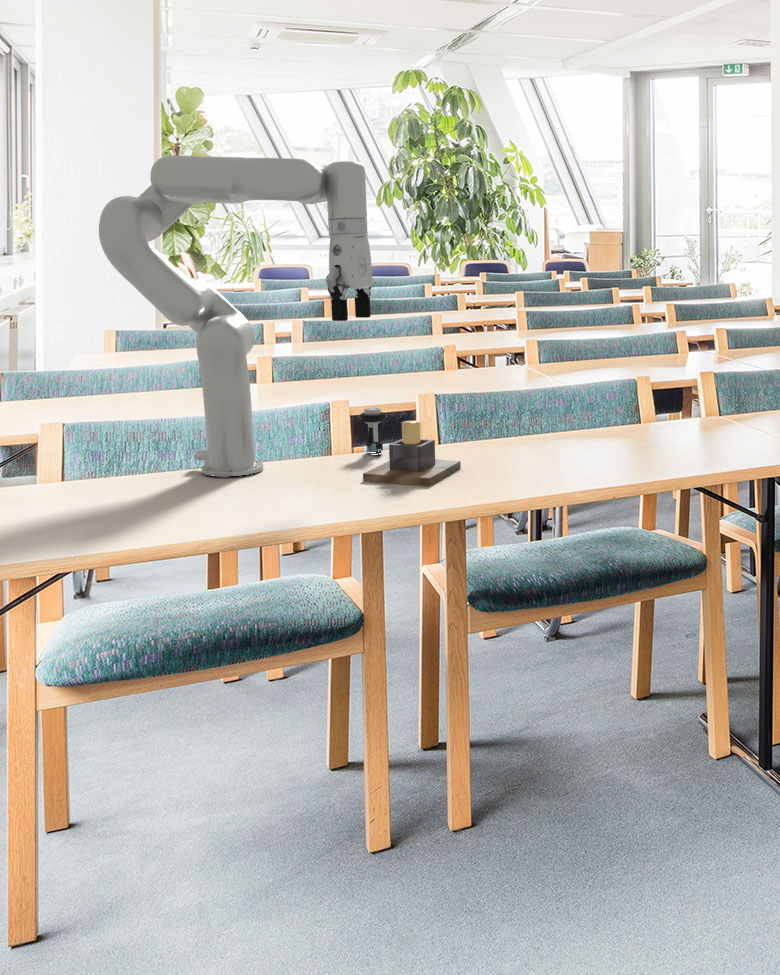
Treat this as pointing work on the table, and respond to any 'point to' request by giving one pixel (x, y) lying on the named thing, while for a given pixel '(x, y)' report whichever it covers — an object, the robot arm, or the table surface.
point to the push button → (373, 429)
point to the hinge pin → (411, 433)
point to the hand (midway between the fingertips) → (351, 319)
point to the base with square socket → (412, 465)
